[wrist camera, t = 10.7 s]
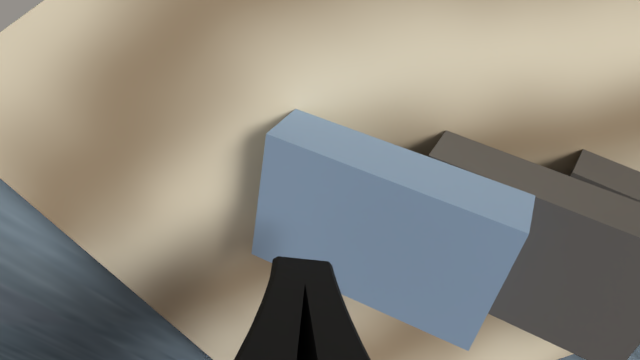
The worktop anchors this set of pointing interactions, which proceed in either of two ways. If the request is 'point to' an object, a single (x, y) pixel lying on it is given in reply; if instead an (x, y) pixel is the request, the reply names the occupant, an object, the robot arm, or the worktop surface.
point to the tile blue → (390, 224)
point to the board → (271, 108)
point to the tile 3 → (607, 175)
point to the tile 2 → (565, 255)
